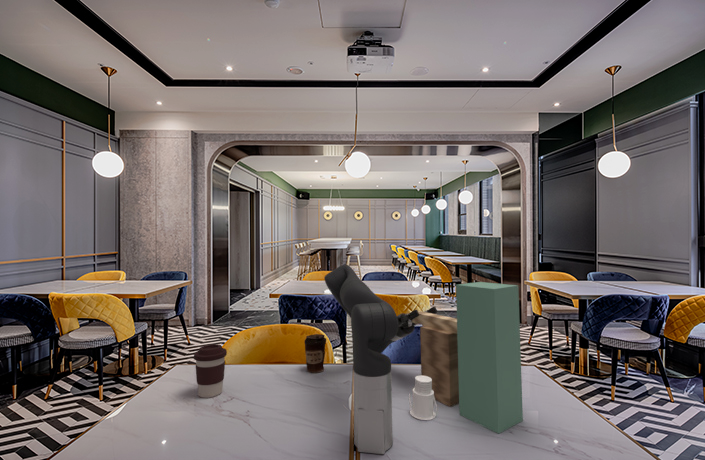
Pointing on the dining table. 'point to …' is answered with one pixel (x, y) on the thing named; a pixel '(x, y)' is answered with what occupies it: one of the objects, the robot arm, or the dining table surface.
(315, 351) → the coffee cup
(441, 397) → the walnut block
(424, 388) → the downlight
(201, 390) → the coffee cup
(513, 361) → the green stand
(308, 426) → the dining table surface
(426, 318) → the beech bar
